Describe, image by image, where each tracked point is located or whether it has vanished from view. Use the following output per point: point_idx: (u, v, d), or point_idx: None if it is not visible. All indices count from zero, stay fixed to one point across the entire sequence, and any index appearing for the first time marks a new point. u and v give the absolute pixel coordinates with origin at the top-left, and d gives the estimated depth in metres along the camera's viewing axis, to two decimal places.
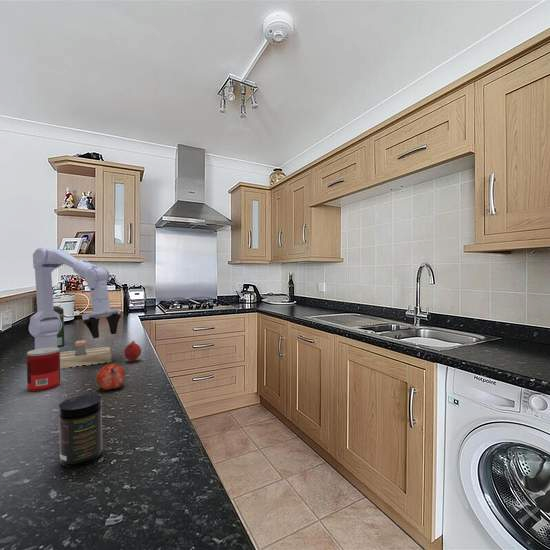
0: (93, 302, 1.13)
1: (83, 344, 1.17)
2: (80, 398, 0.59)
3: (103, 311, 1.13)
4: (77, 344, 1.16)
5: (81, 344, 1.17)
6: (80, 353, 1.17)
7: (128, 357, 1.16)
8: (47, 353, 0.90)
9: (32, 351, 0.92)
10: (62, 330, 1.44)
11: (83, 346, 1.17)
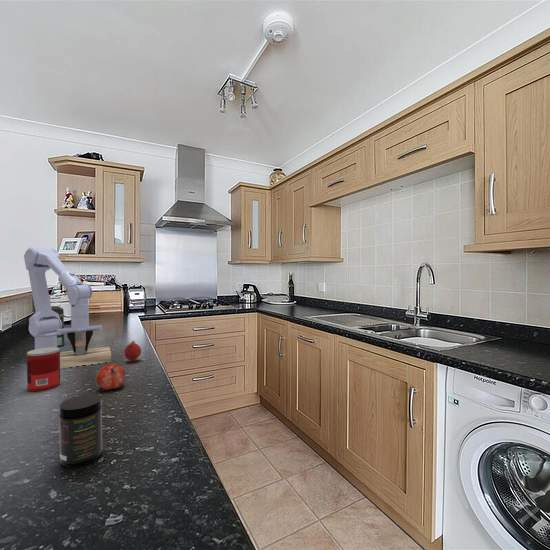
0: (71, 318, 1.17)
1: (83, 344, 1.17)
2: (80, 398, 0.59)
3: (75, 329, 1.16)
4: (77, 344, 1.16)
5: (81, 344, 1.17)
6: (80, 353, 1.17)
7: (128, 357, 1.16)
8: (47, 353, 0.90)
9: (32, 351, 0.92)
10: None
11: (83, 346, 1.17)
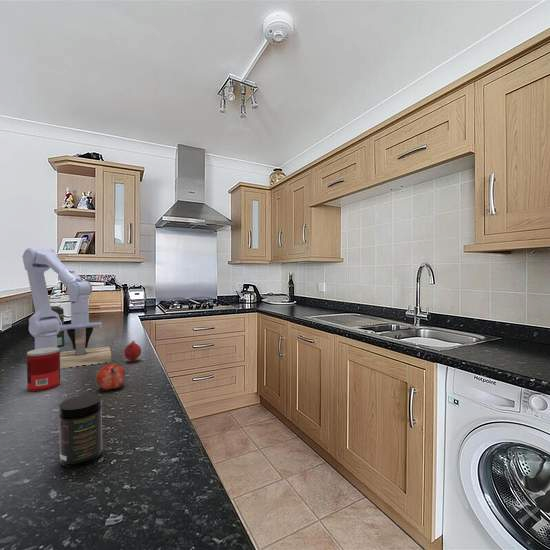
0: (71, 314, 1.17)
1: (83, 341, 1.17)
2: (80, 398, 0.59)
3: (75, 325, 1.16)
4: (77, 341, 1.16)
5: (81, 341, 1.17)
6: (80, 350, 1.17)
7: (128, 357, 1.16)
8: (47, 353, 0.90)
9: (32, 351, 0.92)
10: None
11: (83, 343, 1.17)
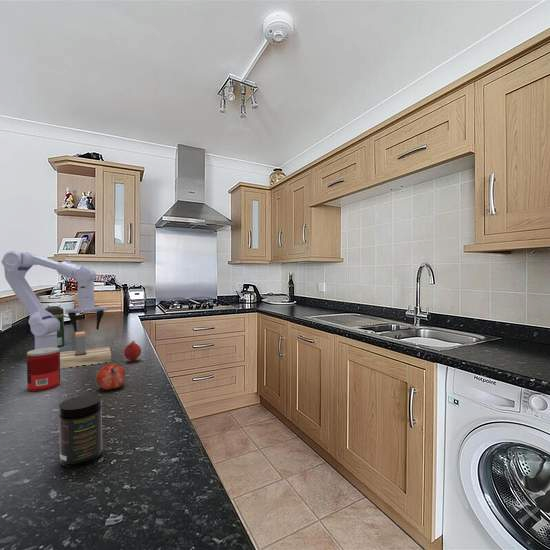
0: (78, 299, 1.26)
1: (83, 335, 1.17)
2: (80, 398, 0.59)
3: (81, 309, 1.24)
4: (77, 335, 1.16)
5: (81, 335, 1.17)
6: (80, 344, 1.17)
7: (128, 357, 1.16)
8: (47, 353, 0.90)
9: (32, 351, 0.92)
10: (62, 330, 1.44)
11: (83, 337, 1.17)
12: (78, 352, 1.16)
